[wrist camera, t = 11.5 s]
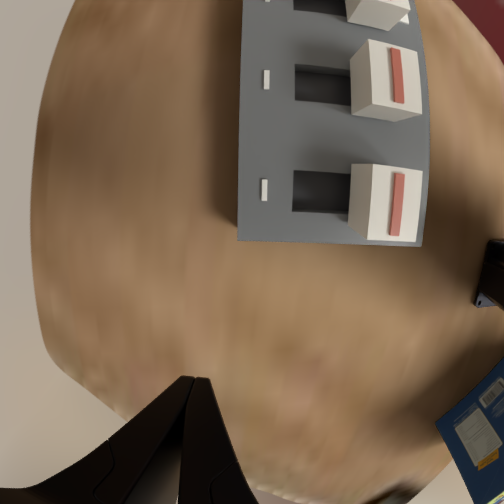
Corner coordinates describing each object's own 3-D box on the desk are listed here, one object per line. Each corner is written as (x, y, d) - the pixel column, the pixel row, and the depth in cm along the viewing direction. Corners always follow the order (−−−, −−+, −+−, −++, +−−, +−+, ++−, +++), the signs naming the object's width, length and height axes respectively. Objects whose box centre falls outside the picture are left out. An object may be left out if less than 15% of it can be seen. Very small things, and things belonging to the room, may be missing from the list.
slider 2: (383, 74, 15) (418, 50, 10) (385, 124, 16) (424, 113, 11) (343, 66, 15) (369, 37, 10) (344, 118, 16) (373, 103, 11)
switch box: (397, 8, 14) (415, -10, 11) (402, 236, 20) (425, 249, 16) (246, -13, 15) (244, -39, 11) (241, 229, 20) (236, 243, 17)
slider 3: (385, 168, 17) (424, 171, 12) (381, 223, 18) (417, 243, 13) (344, 163, 17) (374, 163, 12) (341, 220, 18) (368, 240, 13)
